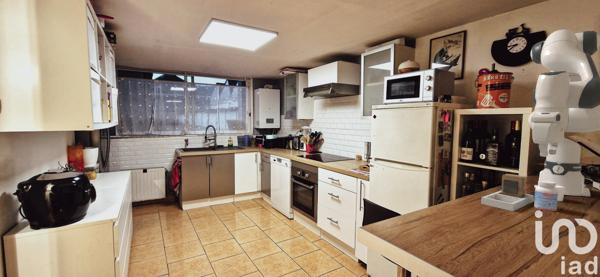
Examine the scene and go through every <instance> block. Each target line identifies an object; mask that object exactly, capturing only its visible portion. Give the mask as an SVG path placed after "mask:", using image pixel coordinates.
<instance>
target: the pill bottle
mask: <svg viewBox="0 0 600 277" xmlns="http://www.w3.org/2000/svg"><path fill="white" fill-rule="evenodd" d="M537 185H539V186H538V187H536V188H535V187H534V188H535V189H534V199H533V203H534V204H533V207H534V208H535V209H539V210H542V211H549V212H550V211H551V212H556V211H557V209H558V201H557V198H558V191H557V190H556V189H555V188H554V187H555V186H556V183H555V182H551V181H543V180H540V181H539V180H538V181H537Z"/></svg>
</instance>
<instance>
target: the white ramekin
mask: <svg viewBox="0 0 600 277" xmlns="http://www.w3.org/2000/svg"><path fill="white" fill-rule="evenodd" d="M554 188H555V189H556V190H557V191H558V198H557V202H563V201H564V196H565V195H564V192H565V187H563V186H559V185H556V186H555V187H554Z"/></svg>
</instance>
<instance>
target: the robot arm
mask: <svg viewBox="0 0 600 277" xmlns="http://www.w3.org/2000/svg"><path fill="white" fill-rule="evenodd" d="M599 47H600V35H599V33H598V32H597V31H596V30H584V31H582V32H576V33H575V32H574V31H572V30H570V29H565V28H563V29H559V30H555V31H553V32H552V33H550V34H549V35H548V36H547V37H546V39H545V40H542V41H539V42H537V43H535V44H533V45H532V47H531V50H530V57H531V58H530V59H531V60H532V62H533V63H534V64H538V65H542V66H543V68H545V69H547V71H548V70H549V71H548V72H543V73H541V74H538V78H537V81H536V86H535V88H534V89H532V101H531V103H532V105H534V108H533V111H532V112H531V113H530V114H529V116H528V118H527V124H528V126H529V128H530V129H531V130H532V131H531V132H532V141H533V144H538V149H539V156H540V157H544V158H546V159H545V160H544V164H543V165H544V166H543V168H544V169H542V170H541V171H540V172H539V176H538V177H539V178H538V181H540V180H543V181H551V182H555V183H556V185H559V186H563V187H565V192H564V196H565V195H566V196H576V197H577V196H579V197H582V196H583V197H591V192H590V189H589V188H587V184H585V176H584V175H583V174H582V173H581V171H582V163H581V152H582V148H581V145H580V144H579V143H577V142H575V141H573V140H571V139H569V138H565V133H590V132H598V131H600V108H599V106H600V74H599V72H598V69H597V66H596V63H595V61H594V59H593V58H592V56H593V55H595V54H596V52H597V51H598V49H599ZM538 186H539V185H538V184H534V187H533V188H536V187H538Z"/></svg>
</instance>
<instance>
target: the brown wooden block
mask: <svg viewBox="0 0 600 277" xmlns="http://www.w3.org/2000/svg"><path fill="white" fill-rule="evenodd" d="M526 179H527V176H524V175H519V174H510V173H505V174H502V175H501V190H502V192H501V194H502V195H507V196H512V197H517V198H524V197H525V194H526V182H527V181H526Z"/></svg>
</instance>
